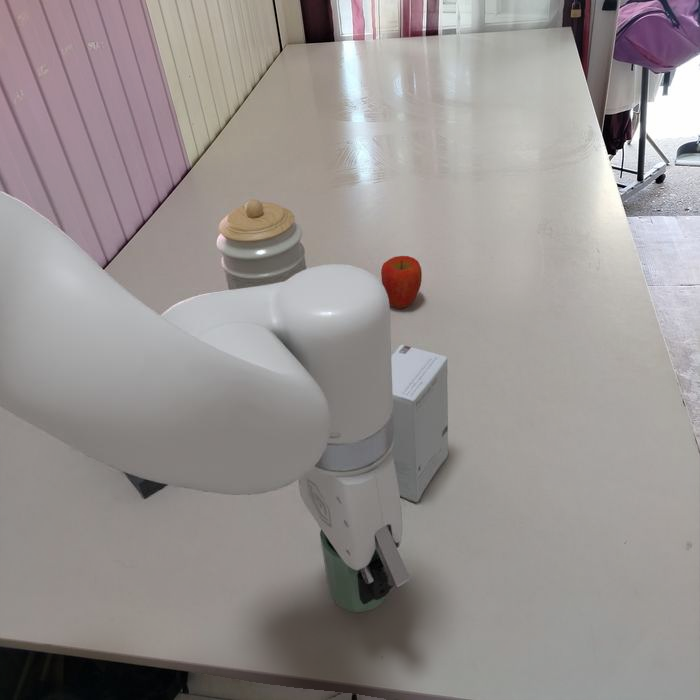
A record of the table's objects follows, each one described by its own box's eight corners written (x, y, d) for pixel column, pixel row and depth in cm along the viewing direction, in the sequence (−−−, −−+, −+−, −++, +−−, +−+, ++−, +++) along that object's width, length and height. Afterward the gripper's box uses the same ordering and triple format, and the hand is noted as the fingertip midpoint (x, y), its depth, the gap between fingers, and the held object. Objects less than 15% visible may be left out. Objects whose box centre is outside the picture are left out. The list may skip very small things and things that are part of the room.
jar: (323, 309, 100) (309, 206, 89) (243, 333, 97) (219, 229, 86) (296, 272, 110) (281, 174, 99) (223, 292, 106) (199, 194, 95)
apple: (419, 315, 97) (419, 273, 92) (379, 313, 98) (377, 271, 93) (424, 292, 101) (423, 251, 97) (386, 291, 103) (384, 250, 98)
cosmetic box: (417, 505, 69) (414, 405, 60) (369, 485, 72) (359, 386, 63) (449, 453, 74) (451, 355, 65) (404, 436, 77) (399, 339, 68)
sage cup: (356, 625, 57) (350, 574, 52) (315, 581, 60) (306, 529, 56) (403, 585, 59) (401, 533, 55) (361, 545, 63) (356, 493, 58)
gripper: (251, 382, 52) (280, 519, 63) (359, 529, 40) (372, 668, 51) (331, 349, 55) (345, 487, 66) (455, 478, 43) (447, 620, 54)
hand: (357, 565), depth 58 cm, fingers closed on sage cup, 5 cm apart
